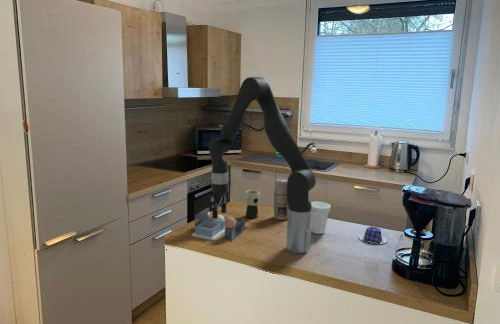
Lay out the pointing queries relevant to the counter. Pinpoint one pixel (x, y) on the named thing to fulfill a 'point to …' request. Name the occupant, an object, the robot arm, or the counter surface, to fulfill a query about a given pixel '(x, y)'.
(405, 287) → the counter surface
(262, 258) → the counter surface
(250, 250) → the counter surface
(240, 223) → the post stand
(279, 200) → the spray can
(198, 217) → the card
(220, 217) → the cream ball
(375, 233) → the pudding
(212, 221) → the rack
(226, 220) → the terracotta ball
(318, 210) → the cup
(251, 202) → the character mug
